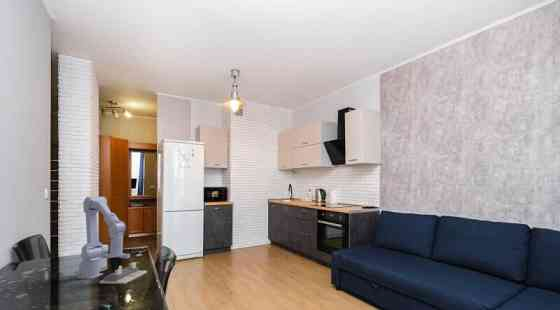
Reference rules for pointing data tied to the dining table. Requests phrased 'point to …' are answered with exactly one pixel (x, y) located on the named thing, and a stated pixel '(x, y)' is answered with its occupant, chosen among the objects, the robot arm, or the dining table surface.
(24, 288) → the dining table surface
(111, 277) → the switch unit
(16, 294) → the dining table surface
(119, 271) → the knob near
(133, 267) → the knob far
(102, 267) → the syrup box
